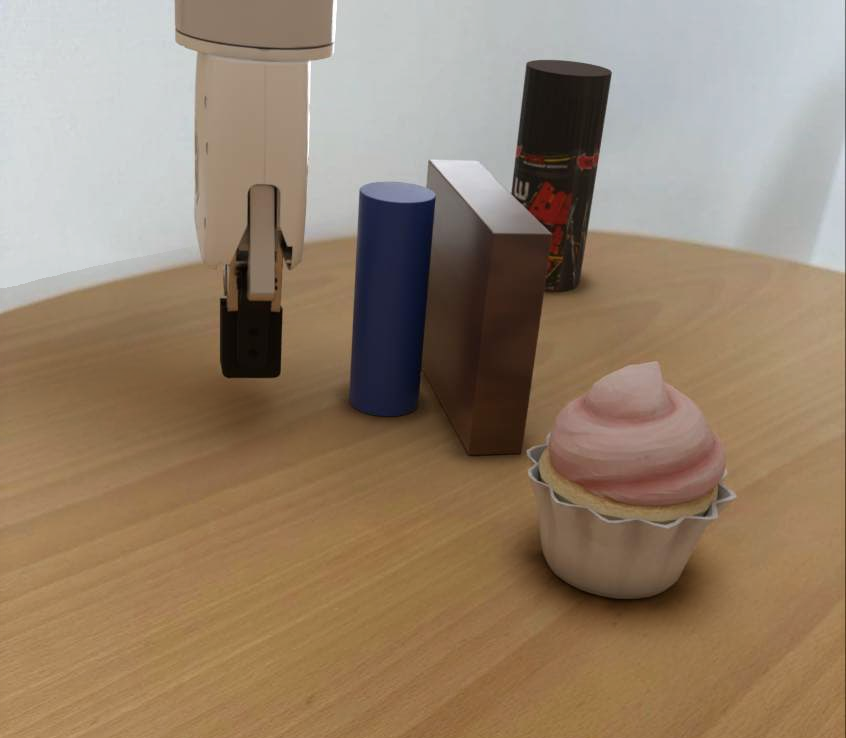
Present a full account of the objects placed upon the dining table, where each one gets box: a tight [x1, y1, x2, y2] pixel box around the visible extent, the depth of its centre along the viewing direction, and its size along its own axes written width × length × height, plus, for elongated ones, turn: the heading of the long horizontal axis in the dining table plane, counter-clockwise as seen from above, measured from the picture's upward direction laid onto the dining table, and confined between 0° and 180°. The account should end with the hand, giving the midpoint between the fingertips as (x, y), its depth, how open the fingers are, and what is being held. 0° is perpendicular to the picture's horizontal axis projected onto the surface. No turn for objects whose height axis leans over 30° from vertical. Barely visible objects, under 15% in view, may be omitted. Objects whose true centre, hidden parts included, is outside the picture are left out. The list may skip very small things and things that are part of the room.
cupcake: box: [526, 360, 738, 600], centre depth 51 cm, size 9×9×10 cm
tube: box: [348, 181, 436, 417], centre depth 63 cm, size 11×4×12 cm
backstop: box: [421, 159, 552, 456], centre depth 64 cm, size 3×14×12 cm, turn 13°
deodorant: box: [510, 59, 613, 293], centre depth 83 cm, size 6×6×15 cm
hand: (250, 371), depth 64 cm, fingers closed
